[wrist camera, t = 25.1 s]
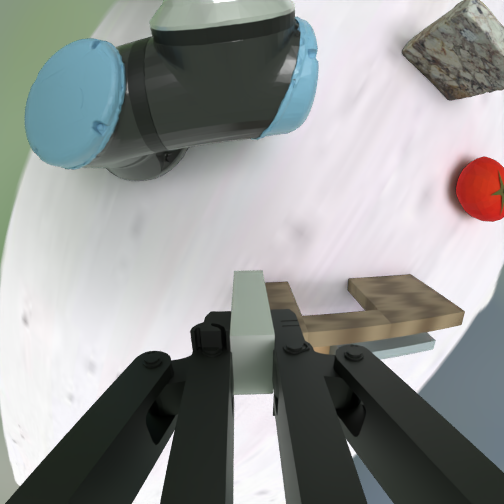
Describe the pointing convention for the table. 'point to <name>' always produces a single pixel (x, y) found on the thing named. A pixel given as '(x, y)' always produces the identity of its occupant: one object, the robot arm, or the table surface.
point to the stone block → (461, 51)
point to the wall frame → (373, 311)
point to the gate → (395, 345)
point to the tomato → (482, 189)
